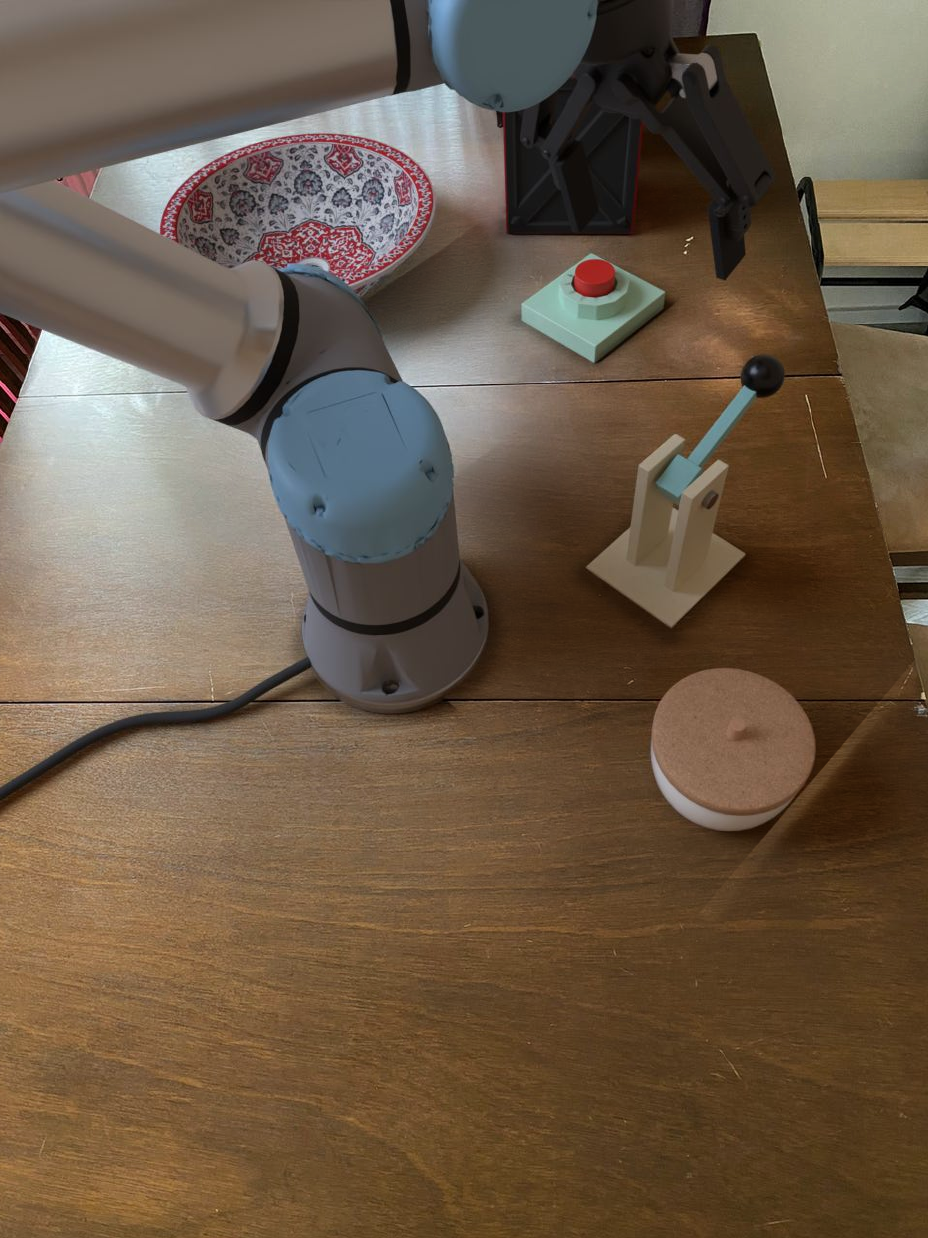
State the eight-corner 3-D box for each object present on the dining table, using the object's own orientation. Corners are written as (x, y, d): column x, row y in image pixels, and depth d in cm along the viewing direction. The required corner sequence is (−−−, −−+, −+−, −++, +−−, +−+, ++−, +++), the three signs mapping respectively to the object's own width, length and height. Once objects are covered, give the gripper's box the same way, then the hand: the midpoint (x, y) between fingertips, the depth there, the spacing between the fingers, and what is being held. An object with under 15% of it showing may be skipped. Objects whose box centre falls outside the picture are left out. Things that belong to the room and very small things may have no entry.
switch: (759, 360, 75) (756, 339, 72) (794, 378, 74) (792, 358, 71) (655, 493, 75) (648, 477, 72) (689, 514, 74) (683, 499, 71)
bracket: (659, 508, 86) (677, 401, 75) (743, 562, 82) (774, 457, 72) (585, 574, 82) (592, 472, 72) (669, 635, 79) (691, 536, 68)
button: (596, 303, 96) (597, 289, 95) (566, 287, 98) (566, 272, 97) (622, 284, 98) (623, 269, 96) (591, 268, 100) (592, 253, 98)
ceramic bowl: (131, 276, 109) (105, 212, 103) (335, 168, 119) (324, 103, 112) (280, 405, 96) (262, 341, 90) (496, 272, 106) (494, 205, 99)
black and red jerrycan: (636, 185, 113) (654, -1, 97) (636, 238, 108) (655, 50, 91) (502, 185, 115) (497, 2, 98) (495, 237, 109) (488, 53, 93)
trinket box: (691, 694, 75) (710, 628, 68) (817, 771, 71) (852, 710, 63) (613, 795, 71) (623, 737, 63) (742, 883, 67) (769, 833, 59)
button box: (594, 363, 97) (596, 331, 94) (521, 320, 101) (520, 288, 98) (663, 309, 101) (668, 276, 98) (590, 269, 105) (592, 237, 102)
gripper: (830, -55, 51) (829, 250, 69) (485, -92, 64) (559, 173, 82) (751, 38, 50) (771, 325, 68) (415, -19, 63) (505, 235, 81)
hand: (655, 242), depth 75 cm, fingers open, 13 cm apart
